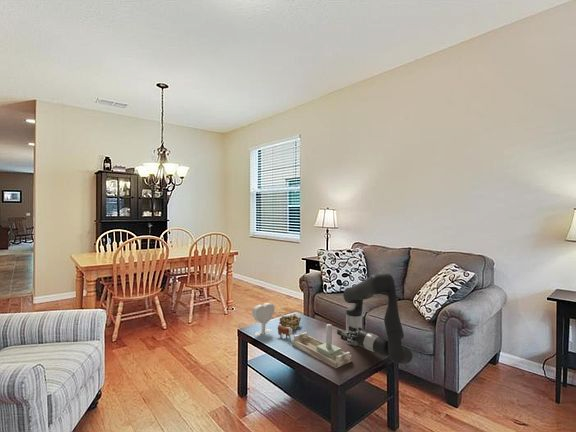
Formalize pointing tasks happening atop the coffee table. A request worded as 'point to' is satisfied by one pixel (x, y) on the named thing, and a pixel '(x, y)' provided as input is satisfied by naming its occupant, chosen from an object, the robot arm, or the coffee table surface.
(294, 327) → the mineral formation
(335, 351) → the green block with post
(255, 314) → the heart sculpture
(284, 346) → the coffee table surface
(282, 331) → the bull figurine
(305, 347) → the bay
